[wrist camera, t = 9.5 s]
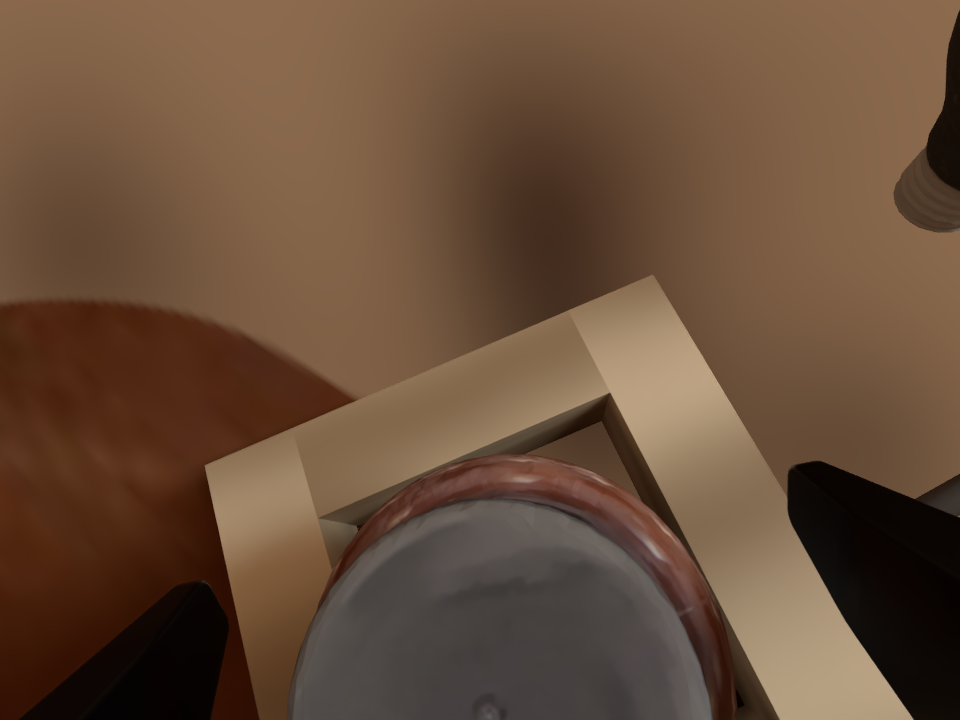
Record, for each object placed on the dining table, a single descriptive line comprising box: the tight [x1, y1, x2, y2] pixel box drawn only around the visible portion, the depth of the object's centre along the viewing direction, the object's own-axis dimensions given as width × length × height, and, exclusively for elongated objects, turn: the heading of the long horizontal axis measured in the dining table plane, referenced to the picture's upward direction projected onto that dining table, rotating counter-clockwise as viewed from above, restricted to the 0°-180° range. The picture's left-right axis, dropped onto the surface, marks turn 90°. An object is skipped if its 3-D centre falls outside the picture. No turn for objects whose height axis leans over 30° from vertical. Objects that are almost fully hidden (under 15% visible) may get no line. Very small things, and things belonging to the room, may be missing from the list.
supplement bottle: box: [286, 454, 737, 720], centre depth 10 cm, size 6×6×11 cm
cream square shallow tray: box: [205, 275, 913, 720], centre depth 14 cm, size 13×13×3 cm
